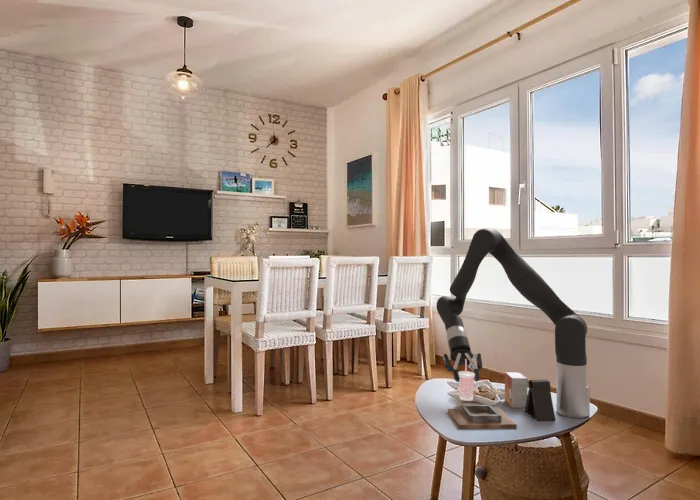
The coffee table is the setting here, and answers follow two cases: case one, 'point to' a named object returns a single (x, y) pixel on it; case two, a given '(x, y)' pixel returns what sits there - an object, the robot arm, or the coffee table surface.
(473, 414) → the walnut socket plate
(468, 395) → the beverage cup
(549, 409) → the black tent sign
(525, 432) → the coffee table surface
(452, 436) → the coffee table surface
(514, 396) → the small box
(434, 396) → the coffee table surface
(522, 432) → the coffee table surface
